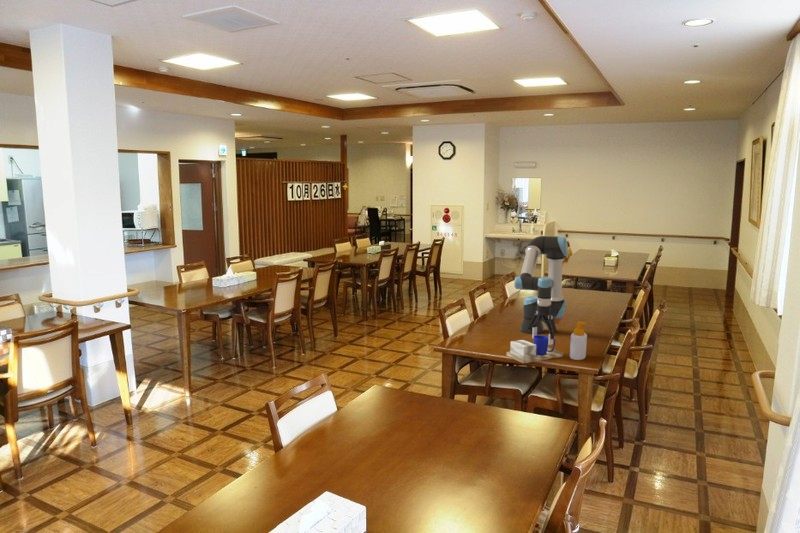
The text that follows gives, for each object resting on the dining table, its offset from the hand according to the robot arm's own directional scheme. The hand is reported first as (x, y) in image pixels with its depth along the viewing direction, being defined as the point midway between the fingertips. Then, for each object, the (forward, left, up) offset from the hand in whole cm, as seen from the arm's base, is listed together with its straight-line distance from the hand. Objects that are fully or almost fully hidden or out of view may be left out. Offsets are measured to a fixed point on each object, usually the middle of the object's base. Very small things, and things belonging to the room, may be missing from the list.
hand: (542, 341), depth 313 cm
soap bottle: (-15, +12, -8) cm, 21 cm away
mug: (0, +2, -7) cm, 8 cm away
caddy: (+6, 0, -8) cm, 10 cm away
